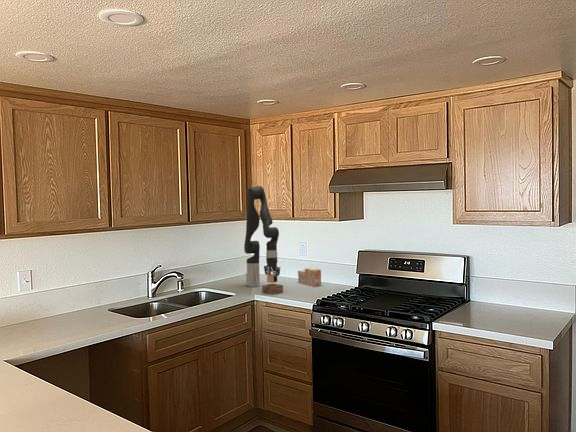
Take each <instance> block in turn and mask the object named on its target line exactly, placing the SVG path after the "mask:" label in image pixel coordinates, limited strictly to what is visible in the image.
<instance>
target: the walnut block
mask: <svg viewBox="0 0 576 432" xmlns="http://www.w3.org/2000/svg"><path fill="white" fill-rule="evenodd" d="M261 288H262V289H261V291H262V294H267V295H271V296H272V295H273V296H274V295H278V294H282V293H283V292H284V285H283V284H278V283H268V284H263V285H261Z"/></svg>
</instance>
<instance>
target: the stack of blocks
mask: <svg viewBox="0 0 576 432" xmlns="http://www.w3.org/2000/svg"><path fill="white" fill-rule="evenodd" d="M297 276H298V277H297V278H298V281H297V282H298V284H301V285H306V286H308V287H309V286H310V287H312V288H318V287H322V269H320V268H315V267H307V268H306V267H305V268H304V270H297Z"/></svg>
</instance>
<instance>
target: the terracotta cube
mask: <svg viewBox="0 0 576 432" xmlns="http://www.w3.org/2000/svg"><path fill="white" fill-rule="evenodd" d="M266 282H267V283H268V284H272V283H273V284H276V282H274V275H273V273H271V274H269V275H266Z"/></svg>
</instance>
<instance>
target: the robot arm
mask: <svg viewBox="0 0 576 432" xmlns="http://www.w3.org/2000/svg"><path fill="white" fill-rule="evenodd" d="M246 195H247V212H246V213H247V214H246V226H245V227H246V228H245V229H246V230H245V239H244V244H243V245H244V247H243V248H244V249H243V251H244V253H245V254H247V255H249V254H250V255H251V254H253V255H252V256H251V257H249V258H247V259H246V273H245V286H247V287H249V288H255V287H256V286H258V287H260V285H261V282H260V281H261V280H260V279H261V278H260V276H261V275H260V248H261V246H260V242H259V240H251V239H252V237H253V235H254V234H255V232H256V231H257V230H258V228H259V227H260V220H261V223H262V231H263V232H262V233H263V236H264V237H265V238H267V239H270V240H269V241H267V242H266V251H265V252H266V253H265V255H266V257H265V259H266V265H264V266H263V271H264V274H265V275H266V276H267V275H269V274H273V275H274V282H275V283H278V277H279V276H280V274H281V266H278V241H279V236H280V232H279V228H277V226H276V227H275V226H273V227H271V225H272V224H273V219H272V216H271V214H270V211H269V210H270V209H269V207H268V202H267V196H266V193H265V189H264V188H263V186H260V185H257V186H249V187H248V189H247V193H246ZM255 200H259V201H260V209H259V212H258V211H257V209H256V206H255Z"/></svg>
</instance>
